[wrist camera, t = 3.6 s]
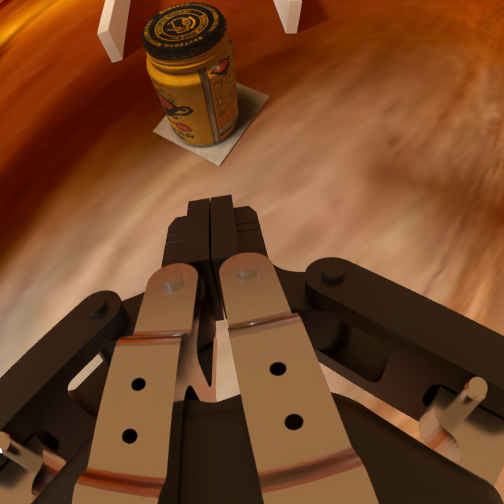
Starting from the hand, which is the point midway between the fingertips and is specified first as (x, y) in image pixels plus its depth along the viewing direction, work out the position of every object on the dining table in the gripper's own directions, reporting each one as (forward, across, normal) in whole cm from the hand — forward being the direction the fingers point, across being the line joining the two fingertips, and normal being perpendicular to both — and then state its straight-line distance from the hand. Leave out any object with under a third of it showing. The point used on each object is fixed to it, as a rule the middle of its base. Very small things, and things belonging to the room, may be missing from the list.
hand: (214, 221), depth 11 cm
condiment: (+20, 0, 0) cm, 20 cm away
